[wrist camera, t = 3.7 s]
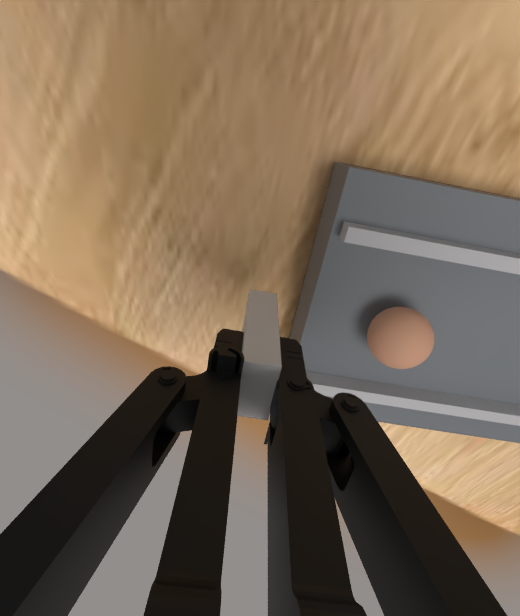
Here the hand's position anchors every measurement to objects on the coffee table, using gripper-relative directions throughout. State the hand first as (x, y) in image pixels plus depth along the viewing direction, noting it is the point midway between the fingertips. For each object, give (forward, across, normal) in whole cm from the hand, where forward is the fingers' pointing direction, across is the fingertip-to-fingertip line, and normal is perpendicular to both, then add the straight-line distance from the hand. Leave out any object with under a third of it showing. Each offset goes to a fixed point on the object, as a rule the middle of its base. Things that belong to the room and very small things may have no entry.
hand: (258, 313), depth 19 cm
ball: (0, +8, 0) cm, 8 cm away
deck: (+6, +16, 0) cm, 17 cm away
